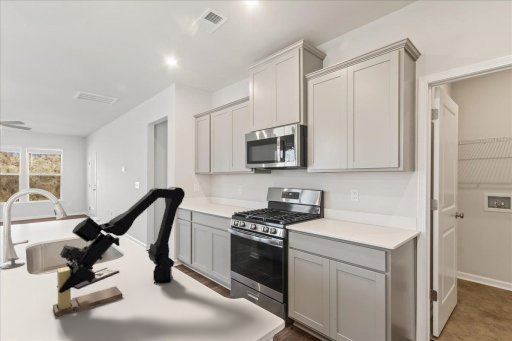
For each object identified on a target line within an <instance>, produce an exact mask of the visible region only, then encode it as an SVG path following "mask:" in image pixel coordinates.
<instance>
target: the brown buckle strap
mask: <svg viewBox="0 0 512 341" xmlns="http://www.w3.org/2000/svg"><path fill="white" fill-rule="evenodd" d="M122 298H123V293H122V291H121V290H120V289H119V288H118V287H117V286H116V285H115V286H112V287H107V288H104V289H101V290H100V289H99V290H97V291H93V292H90V293H87V294H83V295H79V296H75V297H73V298H71V307H69V308H65V309H62V310H59V309H58V303H54V304H53V305H52V310H53V314H54V318H58V317H61V316H64V315H67V314H71V313H73V312H76V313H77V312H81V311H83V310H87V309H90V308H93V307H96V306H100V305H103V304H106V303H110V302H112V301H115V300H118V299H122Z"/></svg>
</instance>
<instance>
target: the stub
mask: <svg viewBox="0 0 512 341" xmlns="http://www.w3.org/2000/svg"><path fill="white" fill-rule="evenodd" d="M56 273H57V285H58V288H57V304H58V311H59V310H62V309H65V308H69V307H71V300H72V298H71V297H72V294H71V292H72V291H71V290H72V288H70V289H68V290H66V291H65V292H63V293H60V292H59V290H60V288H61V287H62V285H63V284H64V283H65V281H66V280H67V279H68V277H69V276H70V269H69V267H67V266H64V267H62V268H57V272H56Z"/></svg>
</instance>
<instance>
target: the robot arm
mask: <svg viewBox="0 0 512 341" xmlns="http://www.w3.org/2000/svg"><path fill="white" fill-rule="evenodd" d="M185 194H186V193H185V190H184V189H183V188H182V187H177V186H170V187H168V188H157V187H152V188H150V190H148V192H147V193H146V194H145V195H143V196H142V197H141V198H140V199H138V201H136V203H134V204H133V205H132V206H131V207H130V208H129V209H127V210H125V211H124V212H123V213H120V214H119V215H117V216H115V217H114V218H111V220H109V221H108V222H105V223H100V224H99V223H97V222H96V221H95V220H94V219H93V218H91V217H90V216H88V217H87V218H85V219H83V220H82V221H80V222H78V223H77V225H76V226H74V228H73V229H72V233H73V235H75V236H77V237H78V238H80V239H81V240H82V241H84V242H86V243H88V242H91V243H90V244H89V245H85V246H83V247H82V248H79V247H76V246H72V245H66V244H65V245H64V246H63V247H62V250H61V252H60V253H59V255H60V257H61V258H63V259H66V261H67V262H66V263H65V264H66V267H69V269H70V276H69V277H68V279H67V280H66V281H65V283H64V284H63V285H62V287H61V288H60V290H59V292H60V293H63V292H65V291H66V290H68V289H70V288H71V289H72V288H73V287H74V286H76V285H78V284H80V283H82V282H84V281H88V282H90V283H91V282H92V281H93V280H94V278H95V273H94V272H95V271H94V270H93V269H94V267H93V266H95V265H96V263H97V262H98V261H99V260H100V261H101V260H102V259H104V258H103V255H104V254H105V253H106V252H107V251H108V250H109V249H110V248H111V246H113V245H114V244H115V245H116V246H117V247H120V236H121V237H122V236H124V235H125V234H127V232H128V231H129V230H130V229H131V227H132V226H133V224H134V222H135V220H136V219H137V218H138V217H139V216H141V215H142V214H143V213H144V212H145V211H146V210H147V209H148V208H149V207H150V206H151V205H152V204H154V203H155V202H156V201H157V200H158V199H164V202H165V209H164V213H163V216H162V219H161V222H160V226H159V230H158V235H157V239H156V241H154V243H150V245H149V250H148V251H147V254H148V258H149V260H150V261H152V262H153V264H154V265H155V266H154V270H152V271H153V276H152V277H153V281H154V282H153V284H166V283H167V284H168V283H171V281H172V279H173V272H172V270H173V267H174V265H175V261H174V260H173V259H172V258H171V257H170V246H169V245H170V244H169V242H170V237H171V233H172V230H173V226H174V222H175V218H176V214H177V211H178V208H179V207H180V205H181V204H182V203H183V200H184V198H185ZM102 231H103V232H104V233H106V234H104V233H103V232H102ZM111 234H112V235H111ZM114 236H115V237H114ZM56 288H57V289H58V284H57V286H56Z"/></svg>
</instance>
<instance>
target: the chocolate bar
mask: <svg viewBox="0 0 512 341" xmlns="http://www.w3.org/2000/svg"><path fill="white" fill-rule="evenodd" d="M94 273H95V278H94V280H93V281H92V282H91V283H90V282H88V281H84V282H82V283H80V284H78V285H76V286H74V288H73V289H77V290H79V289H82V288H84V287H88V286H89V285H91V284H93V283H96V282H100V281H101V280H104V279H105V278H109V277H111V276H114V275H116V274H120V270H116V269H113V268H109V267H104V268H101V269H100V270H96V271H94Z"/></svg>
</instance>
